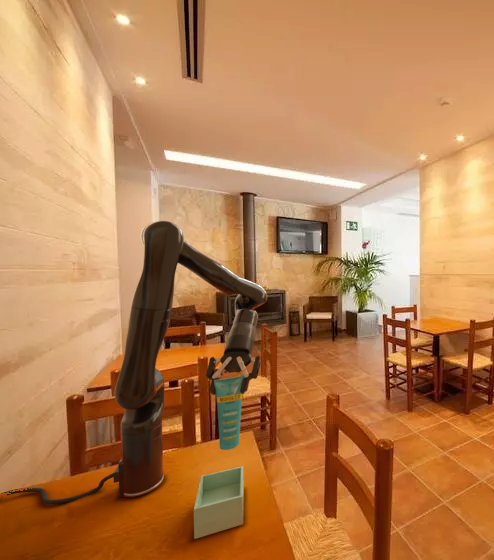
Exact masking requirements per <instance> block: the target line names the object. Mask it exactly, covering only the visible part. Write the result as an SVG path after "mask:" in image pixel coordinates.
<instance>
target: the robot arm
mask: <svg viewBox="0 0 494 560" xmlns="http://www.w3.org/2000/svg"><path fill="white" fill-rule="evenodd" d="M140 241H141V243H142V245H143V250H144V251H143V264H142V270H141V274H140V277H139V279H138V282H137V284H136V288H135V289H134V292H133V295H132V299H131V302H130V307H129V308H130V309H129V314H128V322H127V331H126V332H127V333H126V336H125V337H126V338H125V345H124V354H123V359H122V364H121V367H120V371H119V374H118V377H117V381H116V383H115V386H114V399H115V402H116V404H117V405H119V407H121V408H122V409H124V413H123V416H122V418H121V420H120V428H119V429H120V430H119V431H120V460H119V461H118V464H117V467H116V468H115V470H114V471H113V472H112V473H111V474H109V475H106V476H105V477H103V478H102V479H101V480H100V481H99V482H98V486H96V487H95V488H93V489H91V490H89V491H87V492H83V493H81V494H78V495H74V496H70V497H66V498H58V499H57V498H56V499H49V498H48V494H47V493H48V492H47V491H46V489H45V488H43V487H26V488H27V490H25V489H24V490H23V491H20V490H19V491H15V492H10V491H13V490H18V489H19V488H15V489H11V490H7V491H4V492H2V493H0V494H3V493H7V492H9V493H11V494H7V496H10V495H15V494H22V493H23V494H25V493H39V494H40V497H41V501H42V503H43V504H45V505H59V504H60V505H61V504H65V503H69V502H73V501H76V500H78V499H82V498H83V497H86V496H89V495H92V494H94V493H97V492H98V491H100V490H101V489H102V488H103V487H104V484H105V482H106V481H108V480H110V479H113V483H115V484H116V483H118V498H128V499H129V498H131V499H132V498H137V497H142V496H144V495H147V494H149V493H151V492H153V491H154V490H156V489H158V488H159V487H160V486H161V485H162V483H163V482H164V480H165V477H164V476H165V475H164V446H163V415H164V410H165V378H164V375H163V374H162V372H161V370H159V369H158V368H157V367H156V365H157V359H158V355H159V352H160V349H161V347H162V345H163V342H164V340H165V338H166V336H167V333H168V330H169V327H170V324H171V323H170V322H171V318H172V317H171V316H172V312H173V311H172V309H173V303H174V293H175V279H176V271H177V267H178V264H179V265H180V266H182V267H184V268H186V269H187V270H189V271H190V272H192V273H193V274H194V275H196V276H198V278H201V279H202V280H204V281H205V282H206V283H208V284H209V285H210V286H212V287H213V288H215V289H217V290H218V291H220V292H221V293H223V294H224V295H226V296H235V295H236V298H235V300H234V315H235V316H234V319H233V322H232V326H231V328H230V330H229V333H228V337H227V340H226V344H225V347H224V351H223V353H222V354H223V355H222V356H221V357H219V358H218V357H217V358H215V356H210V358H209V362H208V364H207V369H206V373H205V376H206V379H208V380H209V381H211V383H210V386H209V389H208V390H209V393H210V394H211V395H212V396H216V389H215V384H214V380H220V379H223V377H225V376H226V375H227V374H228V373H229V374H230V373H242V376H244V378H243V380H242V384H241V389H240V392H241V394H242V395H245V393H246V392H248V389H249V384H250V381H251V380H256V379H258V376H259V372H260V368H261V364H262V360H261V357H260V355H256V356H254V357H253V356H252V352H253V348H254V344H255V341H256V332H257V331H256V330H257V326H258V321H259V314H258V312H257V311H256V310H255V309H257V308H259V307H260V306H262V305H264V304H265V303H266V302H267V301H268V293H267V291H266V289H264V287H262V286H261V285H259V283H255V282H253V281H251V280H249V279H246V278H243V277H240V276H239V275H237V274H236V273H234V271H232V270H231V269H229V268H228V267H226V266H224V265H223V264H221V263H220V262H218V261H216V260H214V259H213V258H211V257H209V256H208V255H205V254H204V253H202V252H201V251H199V250H197V249H196V248H195V247H193V246H192V245H191V244H190V243H189V242H188V241H187V240H185V237H184V234H183V231H182V229H181V228H180V227H179V226H178V225H177V224H175V223H174V222H172V221H169V220H157V221H156V220H155V221H152V222H149V223H147V225H145V226H144V227H143V228H142V229H141V232H140ZM220 363H221V364H220ZM251 363H252V365H253V366H252V368H251V372H249V371H248V369H247V367H248V366H249V365H250V364H251ZM219 364H220V366H219ZM218 366H219V367H218ZM217 367H218V368H217ZM216 368H217V371H216ZM29 488H30V489H29ZM31 488H32V489H31ZM2 498H3V497H1V498H0V499H2Z"/></svg>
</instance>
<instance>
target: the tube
mask: <svg viewBox="0 0 494 560" xmlns="http://www.w3.org/2000/svg"><path fill="white" fill-rule="evenodd" d="M243 378H244V375H238V376H233V377H229V378H228V377H227V378H221V379H220V380H214V384H215V389H216V395H215V396H216V405H217V407H216V408H217V419H218V421H217V422H218V437H219V449H220V450H222V451H231V450H233V449H235V448H237V447H238V446H239V444H240V437H241V420H242V418H241V417H242V405H243V394H241V392H240V389H241V384H242V380H243Z"/></svg>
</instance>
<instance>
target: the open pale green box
mask: <svg viewBox="0 0 494 560" xmlns="http://www.w3.org/2000/svg"><path fill="white" fill-rule="evenodd" d="M244 483H245V482H244V465H240V466H237V467H232V468H229V469H224V470H220V471H219V470H218V471H216V472H212V473H207V474H202V475H200V479H199V483H198V484H199V485H198V488H197V493H196V498H195V500H194V501H195V502H194V507H193V540H196V539H199V538H203V537H206V536H209V535H213V534H215V533H219V532H222V531H226V530H228V529H232V528H235V527H238V526H242V525H244V491H245V489H244V488H245V487H244V485H245V484H244Z"/></svg>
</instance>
